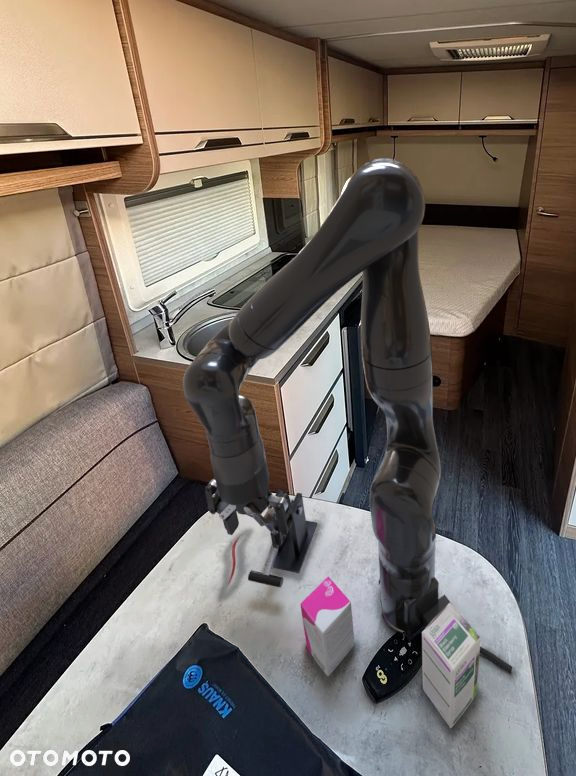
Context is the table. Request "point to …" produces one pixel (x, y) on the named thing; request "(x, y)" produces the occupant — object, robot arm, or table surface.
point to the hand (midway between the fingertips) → (255, 536)
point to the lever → (268, 570)
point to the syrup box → (450, 663)
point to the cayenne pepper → (233, 560)
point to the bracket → (295, 538)
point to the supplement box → (328, 625)
